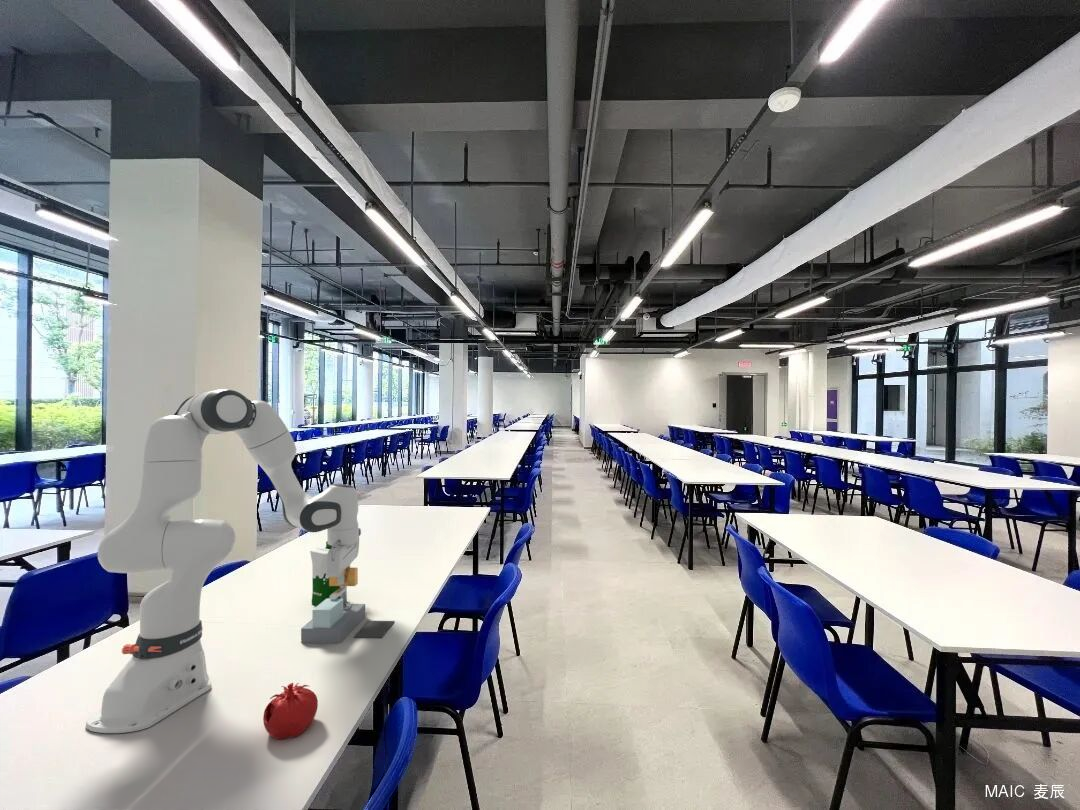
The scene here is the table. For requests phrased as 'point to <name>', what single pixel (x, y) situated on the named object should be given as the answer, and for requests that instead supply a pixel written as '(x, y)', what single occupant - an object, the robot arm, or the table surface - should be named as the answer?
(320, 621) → the pale blue block
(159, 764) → the table surface
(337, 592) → the key
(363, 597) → the table surface
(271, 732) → the pomegranate
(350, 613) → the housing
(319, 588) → the milk carton
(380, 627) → the mat
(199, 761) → the table surface
